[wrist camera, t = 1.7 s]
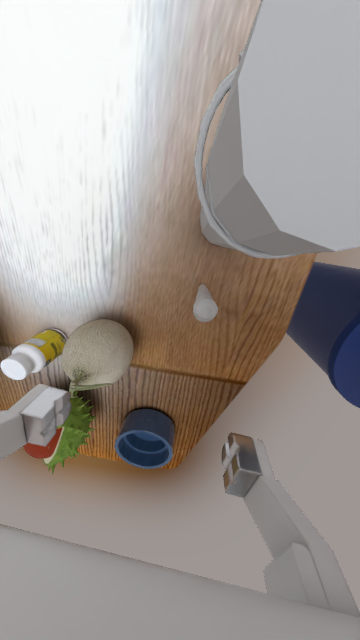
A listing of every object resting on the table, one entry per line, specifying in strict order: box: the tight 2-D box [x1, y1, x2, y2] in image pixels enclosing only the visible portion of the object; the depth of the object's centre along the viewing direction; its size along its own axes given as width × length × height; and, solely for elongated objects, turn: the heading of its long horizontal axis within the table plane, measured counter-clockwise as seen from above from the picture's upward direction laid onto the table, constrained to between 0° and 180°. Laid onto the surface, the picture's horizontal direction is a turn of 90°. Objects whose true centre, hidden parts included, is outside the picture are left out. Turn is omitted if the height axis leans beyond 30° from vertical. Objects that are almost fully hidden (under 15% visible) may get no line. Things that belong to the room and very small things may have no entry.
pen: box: [193, 283, 218, 322], centre depth 24 cm, size 2×3×14 cm
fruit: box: [62, 319, 134, 398], centre depth 29 cm, size 10×12×15 cm
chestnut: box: [23, 387, 96, 473], centre depth 37 cm, size 15×14×15 cm
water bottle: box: [194, 0, 360, 259], centre depth 15 cm, size 9×8×25 cm
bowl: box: [115, 409, 175, 469], centre depth 42 cm, size 13×13×6 cm
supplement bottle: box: [1, 328, 68, 380], centre depth 33 cm, size 5×5×10 cm
